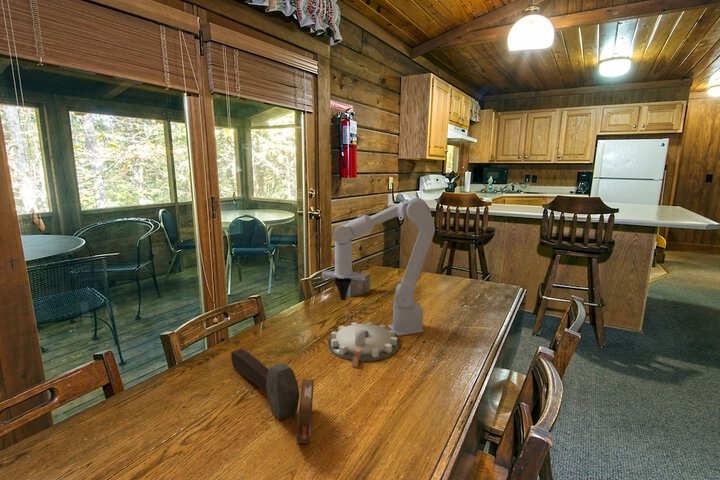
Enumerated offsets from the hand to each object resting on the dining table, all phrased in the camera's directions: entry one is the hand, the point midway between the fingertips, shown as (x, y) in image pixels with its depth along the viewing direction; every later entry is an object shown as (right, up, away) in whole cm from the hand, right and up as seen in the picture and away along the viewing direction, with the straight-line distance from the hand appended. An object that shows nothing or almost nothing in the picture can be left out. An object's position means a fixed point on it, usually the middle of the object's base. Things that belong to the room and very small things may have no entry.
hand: (343, 299), depth 126 cm
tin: (-6, -20, -48) cm, 52 cm away
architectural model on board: (+5, -3, +34) cm, 34 cm away
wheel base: (+7, -12, -11) cm, 18 cm away
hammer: (-19, -17, -35) cm, 43 cm away
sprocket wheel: (+7, -12, -11) cm, 18 cm away
